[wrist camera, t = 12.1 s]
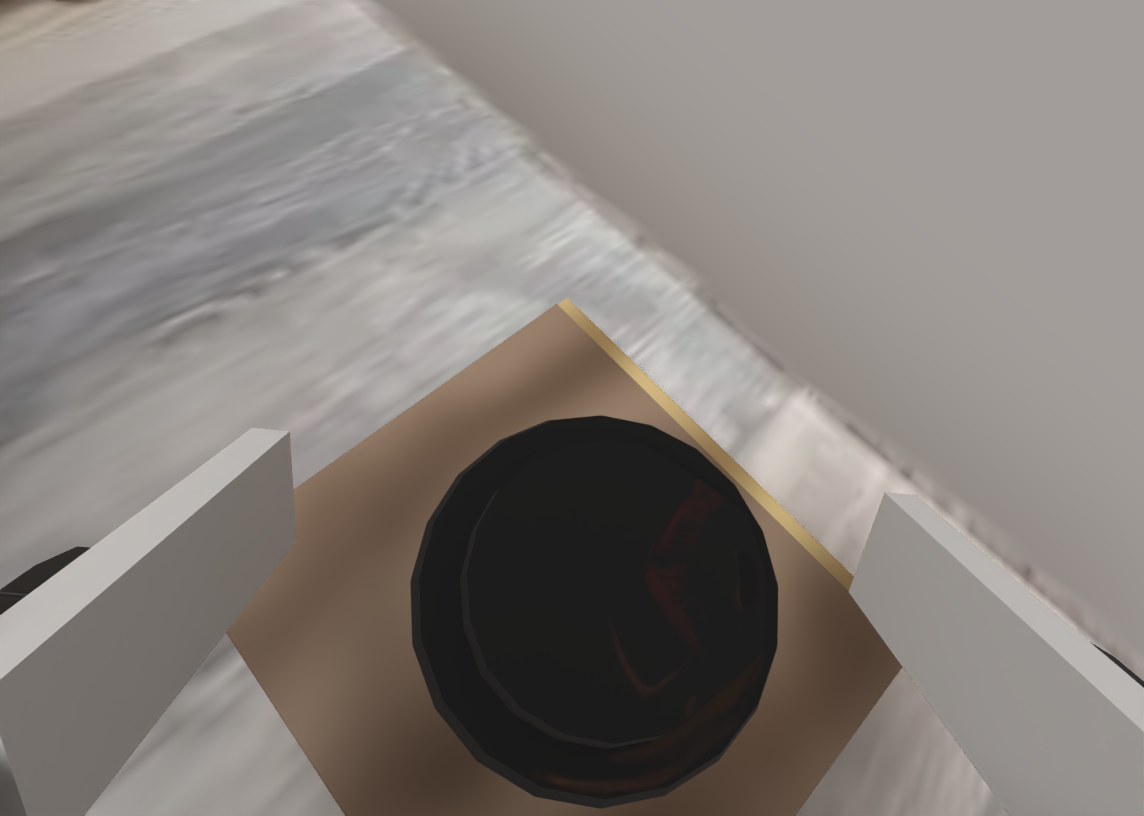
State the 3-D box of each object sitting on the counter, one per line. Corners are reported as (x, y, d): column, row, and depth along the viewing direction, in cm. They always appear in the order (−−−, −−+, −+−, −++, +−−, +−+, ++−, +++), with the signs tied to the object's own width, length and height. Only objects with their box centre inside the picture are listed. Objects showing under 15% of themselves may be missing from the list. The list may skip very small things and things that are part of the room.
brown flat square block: (240, 582, 21) (183, 567, 18) (560, 344, 27) (567, 296, 23) (550, 1039, 17) (559, 1143, 13) (855, 642, 23) (920, 640, 19)
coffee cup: (442, 737, 16) (357, 840, 7) (463, 505, 19) (421, 373, 10) (672, 737, 17) (856, 832, 8) (660, 512, 20) (786, 394, 11)
